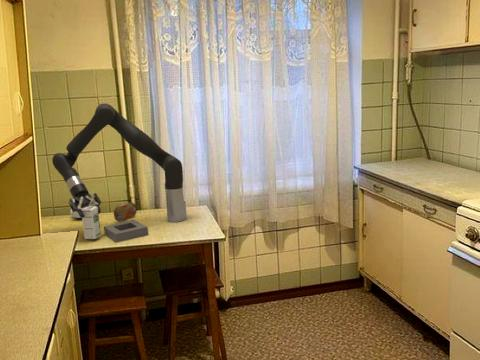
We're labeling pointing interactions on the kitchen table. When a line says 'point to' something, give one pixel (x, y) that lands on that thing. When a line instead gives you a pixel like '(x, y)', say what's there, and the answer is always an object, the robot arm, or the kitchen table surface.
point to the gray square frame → (125, 230)
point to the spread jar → (75, 214)
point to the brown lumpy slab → (125, 212)
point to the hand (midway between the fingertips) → (91, 214)
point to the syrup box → (91, 222)
